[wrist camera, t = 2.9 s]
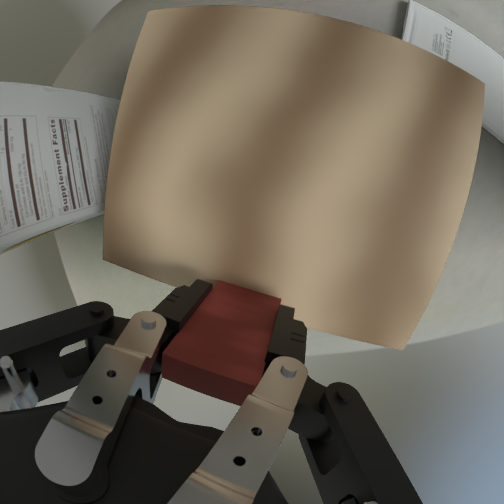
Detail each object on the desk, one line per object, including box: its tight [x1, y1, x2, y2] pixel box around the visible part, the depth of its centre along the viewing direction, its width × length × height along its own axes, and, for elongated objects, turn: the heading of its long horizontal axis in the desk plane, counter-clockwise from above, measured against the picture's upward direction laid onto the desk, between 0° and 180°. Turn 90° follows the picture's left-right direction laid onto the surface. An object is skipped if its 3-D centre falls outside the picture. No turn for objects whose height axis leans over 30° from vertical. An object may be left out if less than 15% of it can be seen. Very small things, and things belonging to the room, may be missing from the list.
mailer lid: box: [103, 5, 485, 406], centre depth 9 cm, size 18×15×7 cm
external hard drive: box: [401, 0, 504, 144], centre depth 13 cm, size 2×8×12 cm
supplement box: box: [0, 81, 121, 254], centre depth 14 cm, size 10×9×17 cm
